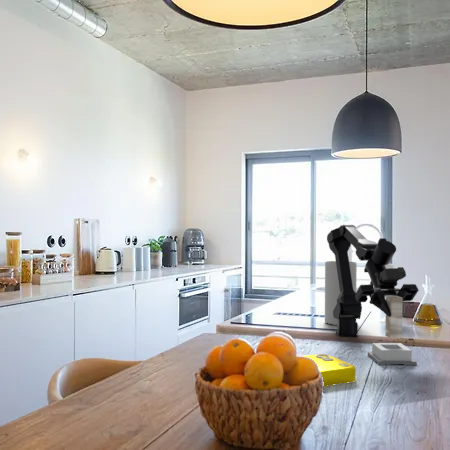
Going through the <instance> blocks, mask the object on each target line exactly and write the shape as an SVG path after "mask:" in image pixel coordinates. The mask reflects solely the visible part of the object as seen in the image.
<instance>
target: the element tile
mask: <svg viewBox="0 0 450 450" xmlns="http://www.w3.org/2000/svg"><path fill="white" fill-rule="evenodd" d="M302 356H303V357H308V358H311V359H312V360H314V362H315V363H316V364H317V366H318V369H319V371H320V372H321V374H322V377H323V382H324V386H326V387H328V386H327V385H333V384H340V383H347V382H353V381H355V382H356V366H355V365H354V364H352V363H350V362H347V361H344V360H341V359H339V358H337V357H334V356H332V355H330V354H327V353H318V354H317V353H315V354H310V355H309V354H308V355H307V354H306V355H302ZM353 383H354V382H353ZM347 384H348V383H347ZM340 385H341V384H340ZM333 386H334V385H333Z"/></svg>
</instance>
